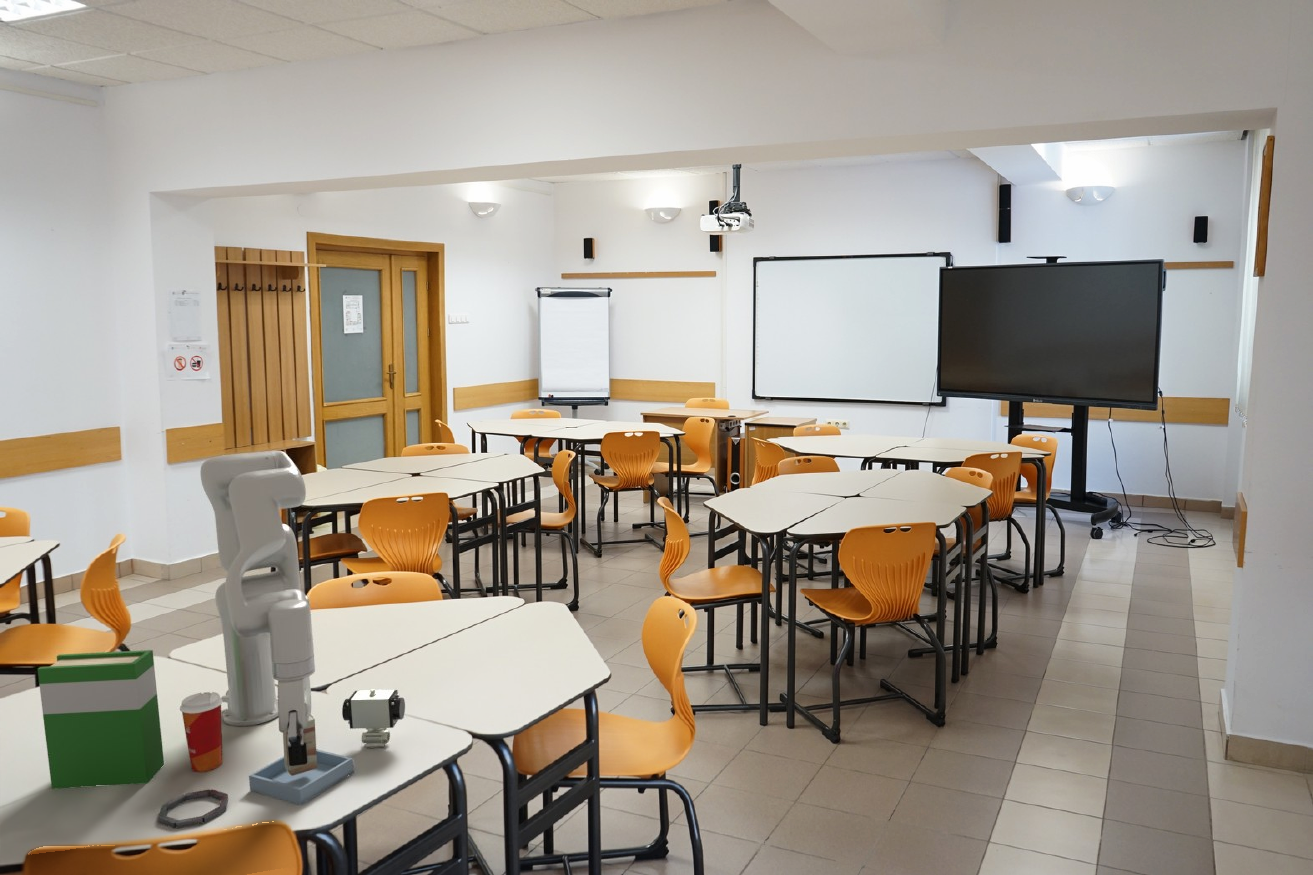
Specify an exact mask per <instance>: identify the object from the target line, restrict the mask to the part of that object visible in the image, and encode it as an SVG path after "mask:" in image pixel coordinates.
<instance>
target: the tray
mask: <svg viewBox="0 0 1313 875" xmlns="http://www.w3.org/2000/svg"><path fill="white" fill-rule="evenodd" d="M316 754H317V768H316V769H313V770H310V771H307V772H304V773H300V774H297V775H293V776H292V775H290V774H289V772H288V771H287V770H286V769H285V763H284V756H282V757H280V758H278V759H277V760H275V761H273V762H271V763H269V764H267V765H265V766H264V767H261V768H260V769H258V770H256V771H255V772H252V773H251V774H249V775H248V779H249V790H250V792H254V793H258V794H262V795H264V796H269V797H272V798H274V799H279V800H281V801H285V802H289V803H292V804H296V805H300V806H302V805H304V804H305V803H308V802H309V801H310V800H312V799H314V798H316V797H317V796H318V795H321V794H322V793H323V792H326V791H327V790H329V789H330V788H332V787H334V786H335V785H336V784H338V783H340V782H341V781H343V780H345V779H346V778H348V777H349V776H348V775H350V776H351V775H352V773H353V774H354V773H355V771H354V758H353V757H349V756H345V755H342V754H341V755H340V754H336V753H333V752H330V751H325V750H322V749H318V748H316ZM347 776H348V777H347Z"/></svg>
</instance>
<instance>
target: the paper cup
mask: <svg viewBox="0 0 1313 875" xmlns="http://www.w3.org/2000/svg"><path fill="white" fill-rule="evenodd" d="M221 698H222V697H221V695H220V693H218V692H215V691H212V692H210V691H208V692H203V693H202V692H197V693H194V694H192V695H191V694H190V695H188V696H186V697H185V698H184V699H183V700H181V705H180V707H179V710H180V712H182V713H181V714H182V721H183V726H184V727H183V728H184V732H185V739H186V744H187V751H188V756H189V762H190V768H191V769H192V771H193V772H197V773H203V772H204V773H205V772H210V771H213V770H215V769H217V768H219V767H220V766H221V765H223V728H222V727H223V726H222V725H223V724H222V720H223V719H222V703H224V702H223V700H222V699H221Z"/></svg>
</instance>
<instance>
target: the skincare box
mask: <svg viewBox="0 0 1313 875" xmlns="http://www.w3.org/2000/svg"><path fill="white" fill-rule="evenodd" d="M297 717H298V715H297ZM297 728H301V725H297ZM297 735H299V736H300V732H297ZM316 739H317V737H316V719H315V718H314V716H313V715H312V714H310V717H309V721H308V725H307V727H306V728H305V729H304V743H306V747H307V760H308V761H307V764H304V765H296V766H290V765H289V756H288V725H287V728H286V731H283V732H282V741H283V742H282V743H283V757H284V763H285V769H286V770H287V771H288V772H289V774H290V775H292V776H293V775H297V774H300V773H304V772H307V771H310V770H313V769H316V768H317V754H316V749H317V740H316Z"/></svg>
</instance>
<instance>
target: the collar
mask: <svg viewBox="0 0 1313 875" xmlns="http://www.w3.org/2000/svg"><path fill="white" fill-rule="evenodd" d="M204 798H211V799H214V800H218V801H219V802H220V803H219V806H217V807H215V808H213V809H211V810H210V811H208V812H206V813H205V814H203V815H201V816H199V815H198V816H194V817H189V818H182V819H176V818H173V817H170V816H167V815H168V813H169V811H170V810H172V809H174V808H176V807H177V806H179V805H181V804H183V803H185V802H189V801H194V800H199V799H204ZM228 803H229V794H228V793H226V792H222V791H220V790H217V789H210V788H209V789H203V790H197V791H192V792H191V791H190V792H186V793H183V794H180V795H179V796H177V797H175V798H172V799H171V800H170V801H168V802H166V803H164V804H162V805H161V807H160V811H159V814H158V816H157V821H158V822H157V823H158V824H159V825H164V826H165V827H169V828H173V829H181V828H187V827H192V826H199V825H203V824H206V823H208V822H209V821H212V820H213V819H215V818H217V817H218V816H220V815H222V814H224V813H225V812H226V811H227V808H228Z"/></svg>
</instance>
